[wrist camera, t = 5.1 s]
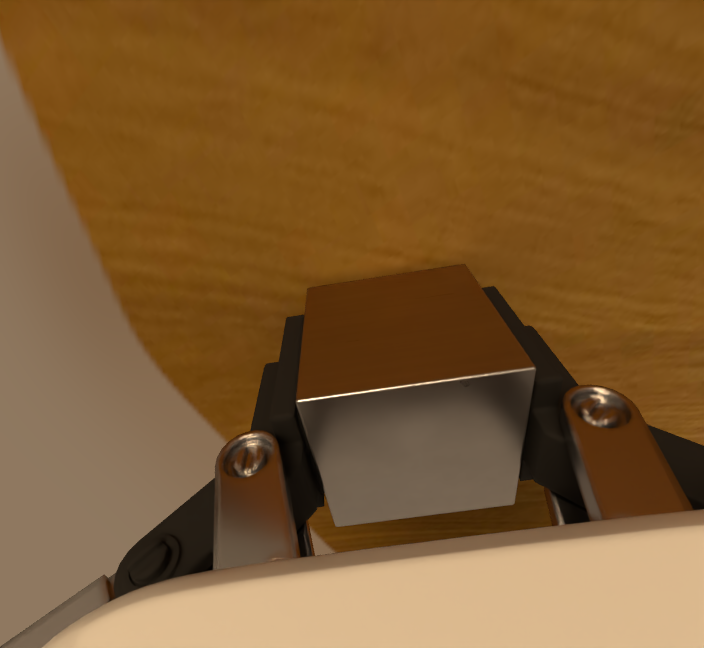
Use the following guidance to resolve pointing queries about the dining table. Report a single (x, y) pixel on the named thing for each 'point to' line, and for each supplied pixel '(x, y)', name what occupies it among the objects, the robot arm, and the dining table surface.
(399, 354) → the block
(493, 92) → the dining table surface
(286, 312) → the dining table surface
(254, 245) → the dining table surface
